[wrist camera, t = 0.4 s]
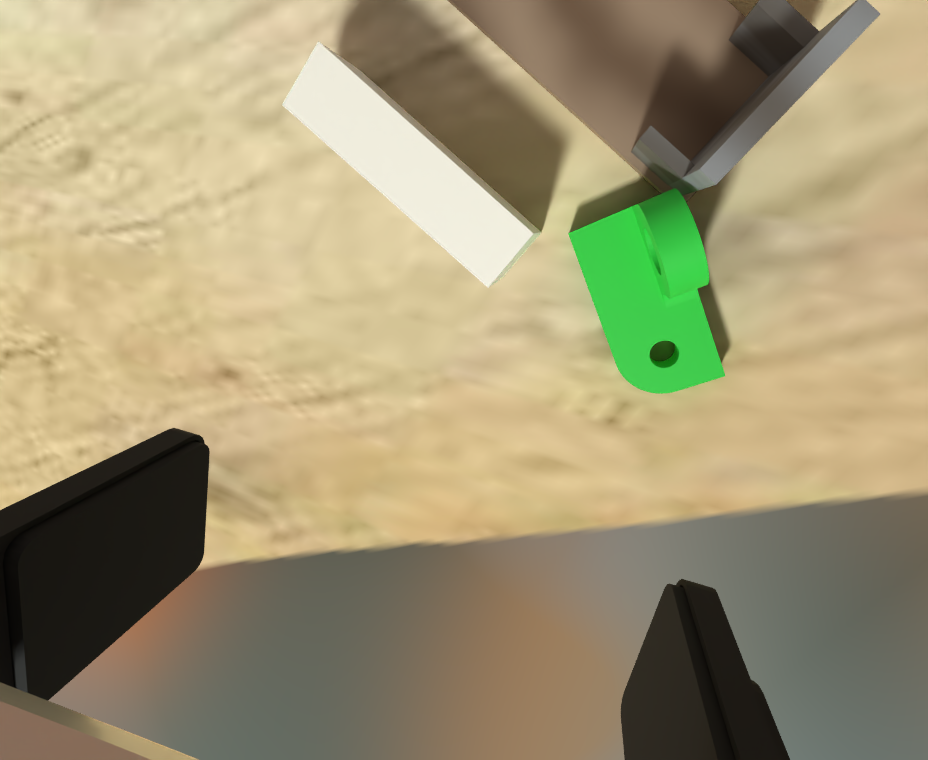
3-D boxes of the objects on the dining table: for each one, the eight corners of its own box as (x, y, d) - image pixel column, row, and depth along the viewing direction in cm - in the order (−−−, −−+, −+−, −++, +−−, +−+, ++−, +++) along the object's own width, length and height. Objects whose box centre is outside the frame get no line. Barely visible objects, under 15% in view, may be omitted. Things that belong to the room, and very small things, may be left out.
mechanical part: (569, 233, 35) (565, 234, 27) (660, 194, 33) (683, 184, 25) (628, 396, 37) (640, 439, 29) (717, 368, 35) (754, 406, 27)
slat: (361, 71, 35) (318, 41, 29) (541, 232, 35) (533, 233, 29) (329, 123, 36) (282, 104, 30) (502, 278, 36) (487, 287, 31)
